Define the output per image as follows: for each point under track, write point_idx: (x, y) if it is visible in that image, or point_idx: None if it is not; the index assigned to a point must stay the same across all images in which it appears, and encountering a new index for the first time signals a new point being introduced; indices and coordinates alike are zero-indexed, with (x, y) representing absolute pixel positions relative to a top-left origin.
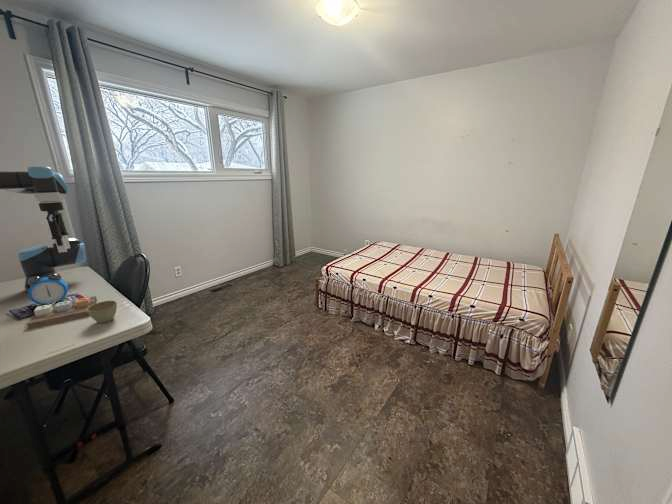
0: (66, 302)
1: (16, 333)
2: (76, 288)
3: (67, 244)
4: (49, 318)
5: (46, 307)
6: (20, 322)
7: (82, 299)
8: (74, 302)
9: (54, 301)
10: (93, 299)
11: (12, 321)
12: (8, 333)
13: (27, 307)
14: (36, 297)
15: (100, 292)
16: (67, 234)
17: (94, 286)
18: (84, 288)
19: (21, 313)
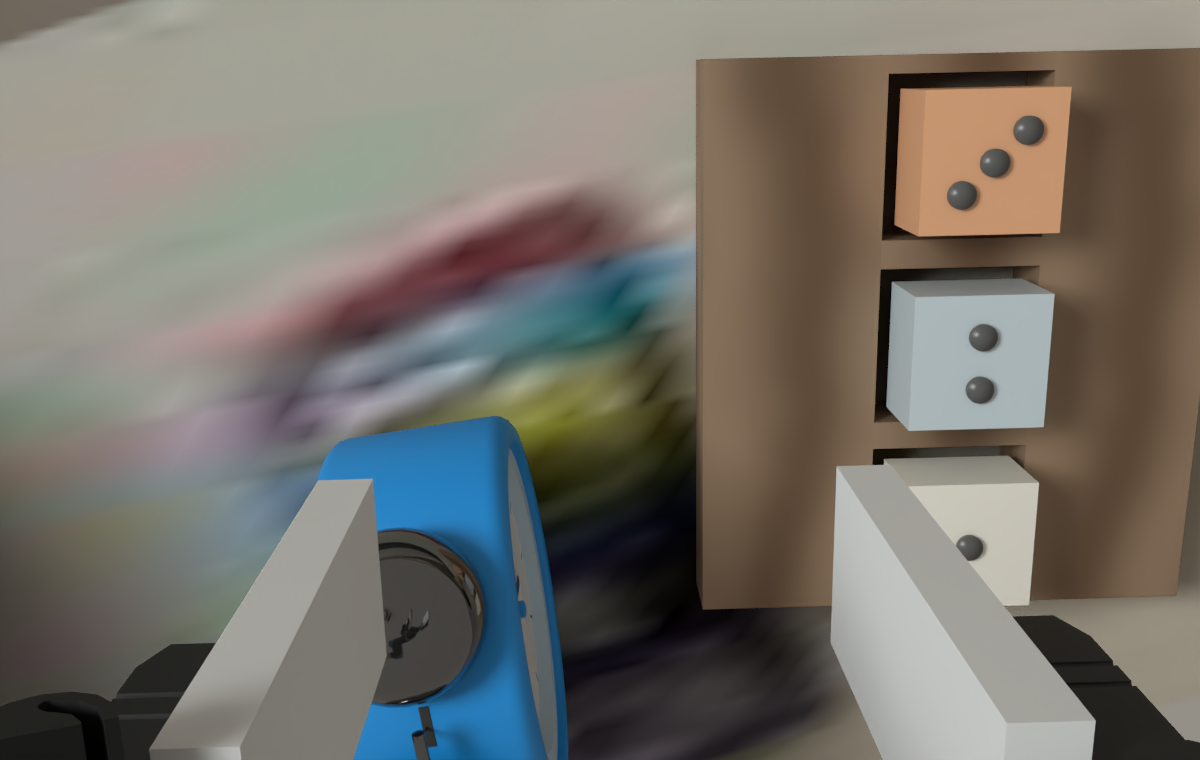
0: (995, 329)
1: (1187, 635)
2: (6, 400)
3: (349, 575)
4: (1185, 429)
5: (1005, 509)
6: None
7: (1011, 158)
8: (802, 281)
9: (530, 521)
10: (844, 68)
11: (824, 754)
12: None
13: None
14: (540, 701)
15: (378, 61)
16: (116, 731)
17: (34, 183)
18: (62, 300)
19: (632, 745)
